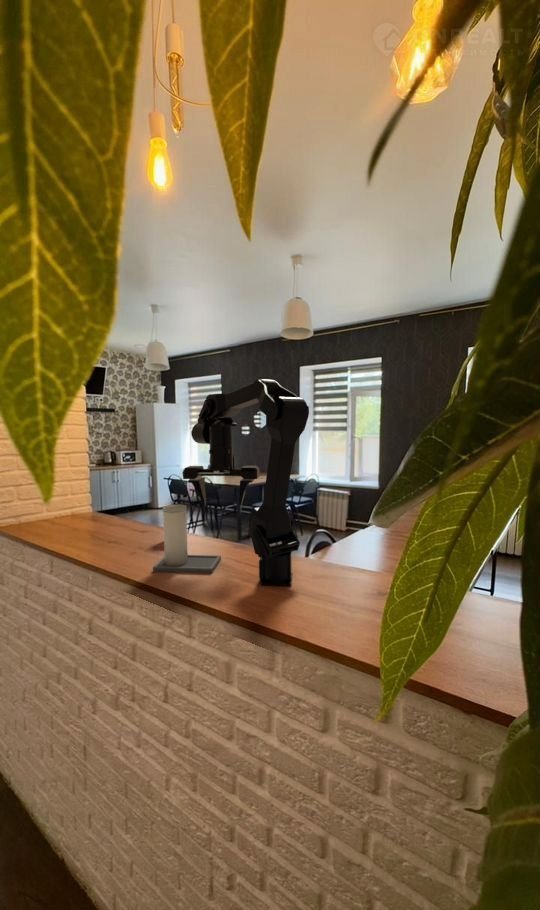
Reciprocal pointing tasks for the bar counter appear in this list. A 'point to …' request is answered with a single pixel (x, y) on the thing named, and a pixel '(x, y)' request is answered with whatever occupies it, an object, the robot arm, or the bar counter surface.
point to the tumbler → (175, 535)
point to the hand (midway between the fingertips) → (222, 506)
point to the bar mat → (191, 564)
